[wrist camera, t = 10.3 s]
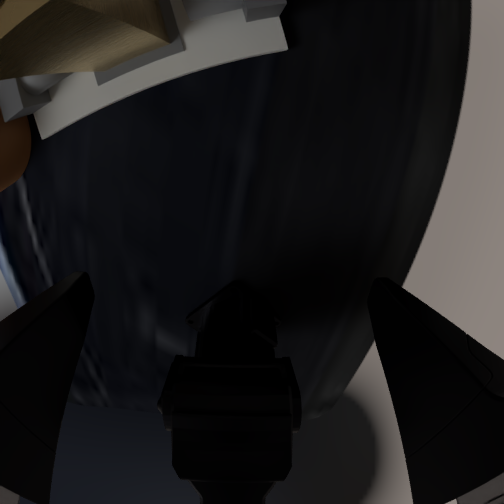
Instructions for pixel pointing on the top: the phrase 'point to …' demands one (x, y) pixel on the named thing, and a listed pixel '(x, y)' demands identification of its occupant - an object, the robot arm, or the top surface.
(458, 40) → the top surface
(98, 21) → the gold tall square block
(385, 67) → the top surface
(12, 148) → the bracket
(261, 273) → the top surface
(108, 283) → the top surface
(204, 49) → the plate with raised blocks
